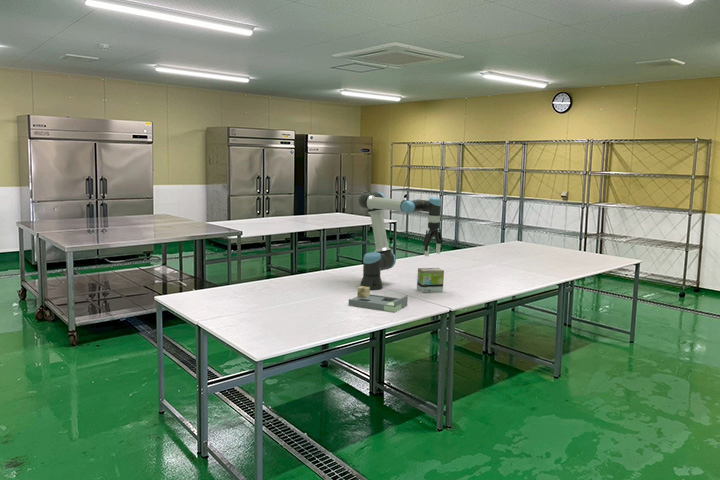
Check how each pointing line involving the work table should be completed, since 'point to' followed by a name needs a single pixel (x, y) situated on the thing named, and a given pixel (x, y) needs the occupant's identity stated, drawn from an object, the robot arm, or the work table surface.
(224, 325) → the work table surface
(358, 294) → the block
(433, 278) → the tea box
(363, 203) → the robot arm
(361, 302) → the board
